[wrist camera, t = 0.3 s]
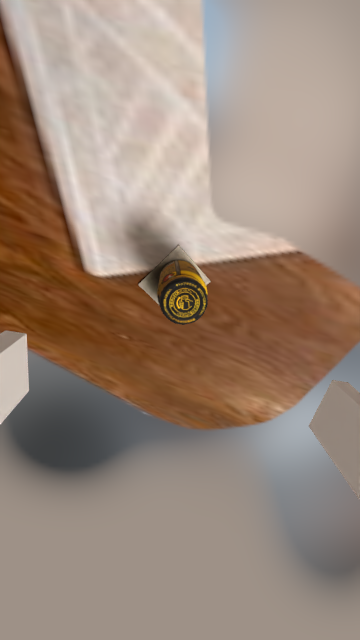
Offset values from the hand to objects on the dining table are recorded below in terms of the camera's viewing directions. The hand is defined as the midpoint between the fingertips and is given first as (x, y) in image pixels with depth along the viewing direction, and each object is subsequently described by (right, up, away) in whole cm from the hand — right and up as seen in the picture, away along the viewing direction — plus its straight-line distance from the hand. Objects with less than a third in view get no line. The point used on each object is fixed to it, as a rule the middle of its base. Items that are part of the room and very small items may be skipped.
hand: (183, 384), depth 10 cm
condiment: (-1, +9, +26) cm, 28 cm away
